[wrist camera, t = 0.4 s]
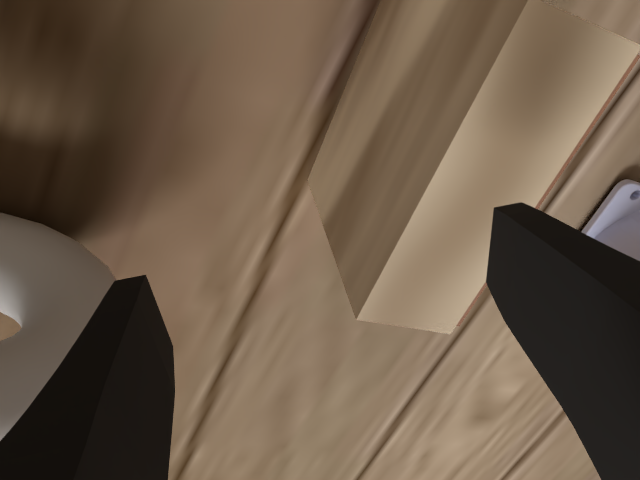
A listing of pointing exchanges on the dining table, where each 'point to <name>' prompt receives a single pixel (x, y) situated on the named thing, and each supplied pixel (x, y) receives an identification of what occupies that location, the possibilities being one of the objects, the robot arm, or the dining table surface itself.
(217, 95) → the dining table surface
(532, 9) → the tan wooden block
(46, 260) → the donut
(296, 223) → the dining table surface
